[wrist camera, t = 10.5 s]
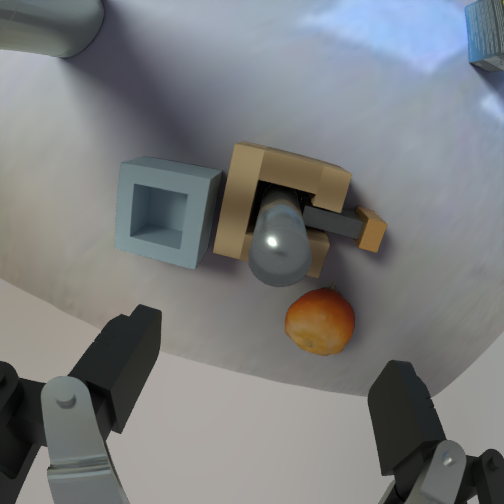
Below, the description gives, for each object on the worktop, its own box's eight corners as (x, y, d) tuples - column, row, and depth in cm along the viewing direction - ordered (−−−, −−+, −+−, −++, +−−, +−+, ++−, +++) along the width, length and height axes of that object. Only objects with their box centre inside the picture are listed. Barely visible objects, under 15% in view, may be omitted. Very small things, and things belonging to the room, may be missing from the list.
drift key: (303, 190, 30) (307, 200, 25) (373, 211, 30) (387, 224, 25) (296, 217, 31) (298, 232, 27) (364, 236, 31) (376, 252, 27)
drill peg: (267, 178, 30) (256, 222, 16) (301, 186, 30) (319, 238, 16) (259, 210, 31) (242, 278, 17) (292, 218, 31) (301, 292, 17)
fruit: (375, 311, 33) (356, 366, 28) (324, 318, 39) (300, 365, 34) (346, 262, 31) (320, 317, 26) (293, 275, 37) (263, 323, 32)
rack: (144, 156, 30) (120, 162, 25) (222, 170, 30) (210, 179, 25) (137, 230, 33) (114, 248, 28) (207, 248, 33) (195, 270, 28)
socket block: (243, 141, 28) (234, 143, 23) (338, 165, 28) (352, 174, 23) (224, 231, 32) (212, 252, 27) (312, 252, 32) (318, 278, 27)
